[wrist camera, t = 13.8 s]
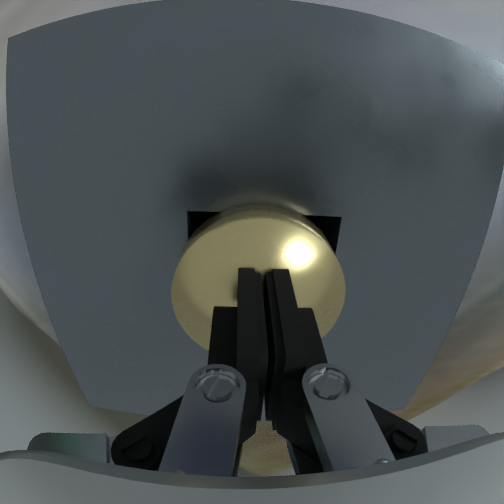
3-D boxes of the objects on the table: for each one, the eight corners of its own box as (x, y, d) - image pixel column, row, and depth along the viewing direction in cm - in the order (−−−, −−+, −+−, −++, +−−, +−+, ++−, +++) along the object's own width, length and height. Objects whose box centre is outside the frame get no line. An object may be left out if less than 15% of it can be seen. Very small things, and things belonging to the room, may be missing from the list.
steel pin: (306, 160, 18) (361, 225, 10) (296, 252, 21) (327, 361, 12) (202, 155, 18) (163, 218, 9) (203, 249, 21) (179, 359, 12)
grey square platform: (424, 67, 15) (514, 70, 8) (370, 329, 25) (404, 408, 17) (92, 49, 14) (8, 38, 7) (122, 324, 24) (89, 405, 17)
